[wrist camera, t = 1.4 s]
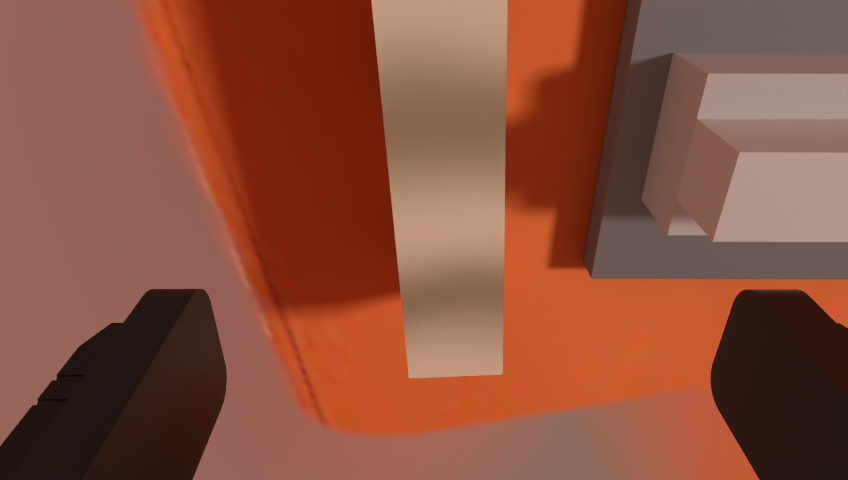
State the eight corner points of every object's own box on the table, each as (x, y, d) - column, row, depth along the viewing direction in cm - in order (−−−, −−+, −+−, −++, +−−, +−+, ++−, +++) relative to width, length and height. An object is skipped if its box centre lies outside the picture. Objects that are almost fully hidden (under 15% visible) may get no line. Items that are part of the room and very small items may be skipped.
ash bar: (367, -252, 18) (338, -332, 12) (482, -261, 18) (511, -346, 12) (412, 276, 28) (408, 378, 22) (486, 272, 28) (502, 374, 22)
